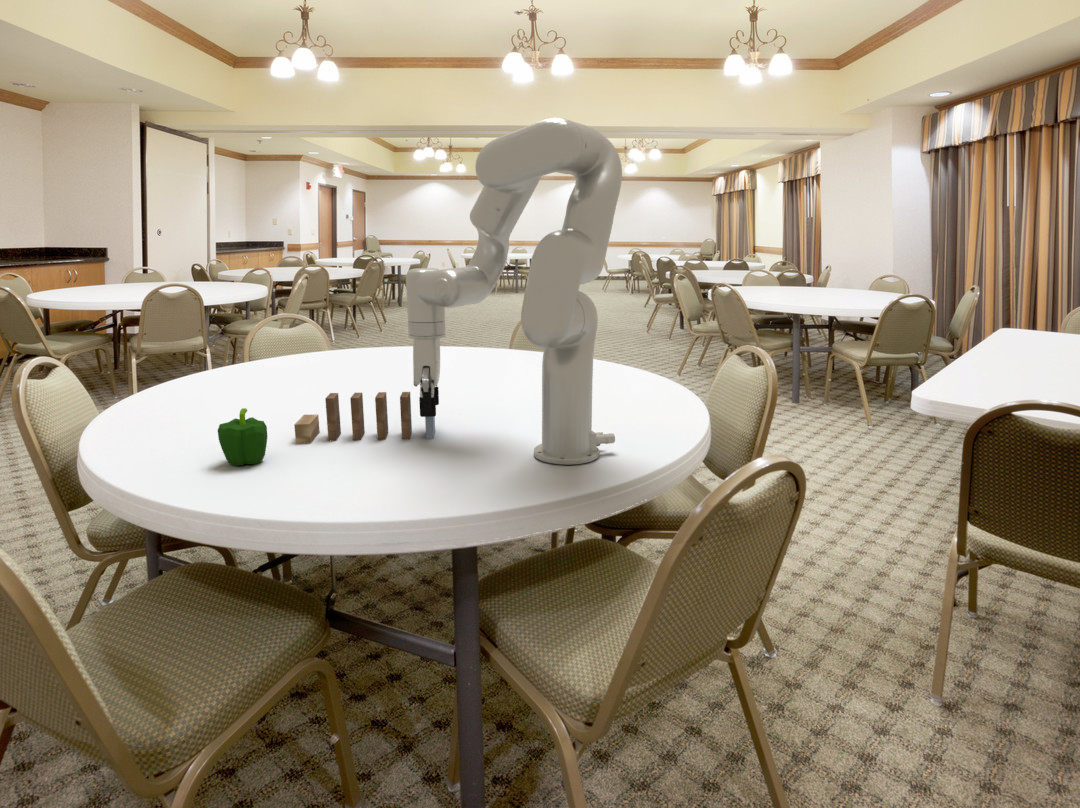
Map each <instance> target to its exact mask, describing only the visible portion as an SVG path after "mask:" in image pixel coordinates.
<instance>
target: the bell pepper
mask: <svg viewBox="0 0 1080 808" xmlns="http://www.w3.org/2000/svg"><path fill="white" fill-rule="evenodd" d="M239 411H240V412H239V414H238V415H239V418H234V419H232V420H229V421H227V422H223V423H220V424H219V426H218V428H217V435H218V436H217V437H218V442H219V445H220V448H221V451H222V453H223V455H224V457H225V460H226V461H227V463H228V464H230V465H231V466H235V467H238V466H239V467H240V466H244V464H245V465H256V464H259V463H261V462H262V461H263V460H264V459H265V456H266V450H267V443H268V428H267V427H268V426H267V424H266V423H265V421H264V420H258V419H256V418H255V417H253V416H252V417H248V418H246V414H247V412H248V409H247V407H246V408H245V407H243V408H242V407H241V409H240V410H239Z"/></svg>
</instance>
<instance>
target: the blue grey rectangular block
mask: <svg viewBox="0 0 1080 808" xmlns="http://www.w3.org/2000/svg"><path fill="white" fill-rule="evenodd" d="M435 417H436V416H435ZM435 417H424V422H425V439H427V440H428V439H429V440H431V439H435V434H436V418H435Z"/></svg>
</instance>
